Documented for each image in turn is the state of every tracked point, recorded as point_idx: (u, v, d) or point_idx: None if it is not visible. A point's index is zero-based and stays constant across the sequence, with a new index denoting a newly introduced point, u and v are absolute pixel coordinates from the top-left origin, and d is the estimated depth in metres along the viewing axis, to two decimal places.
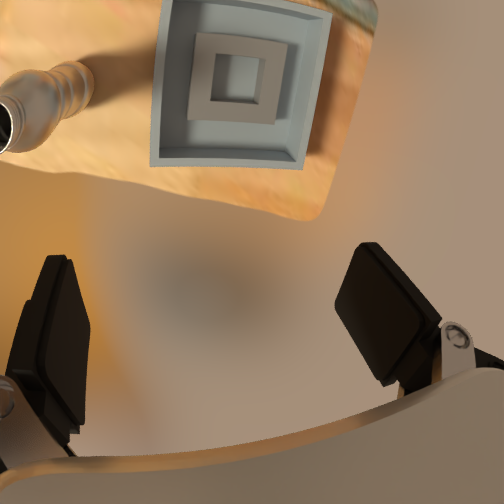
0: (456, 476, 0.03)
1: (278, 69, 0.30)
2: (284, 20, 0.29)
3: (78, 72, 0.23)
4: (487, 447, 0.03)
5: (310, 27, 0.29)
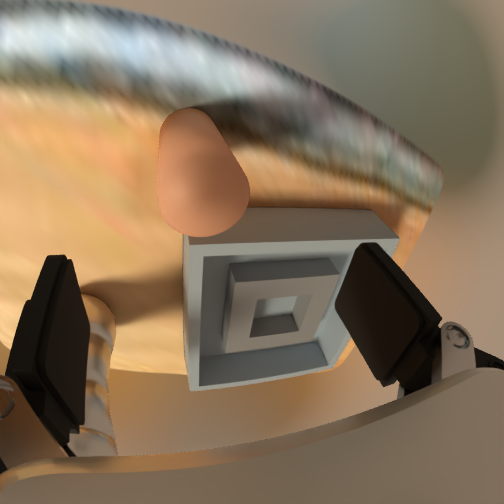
0: (456, 476, 0.03)
1: (324, 299, 0.30)
2: None
3: (98, 337, 0.23)
4: (487, 447, 0.03)
5: None
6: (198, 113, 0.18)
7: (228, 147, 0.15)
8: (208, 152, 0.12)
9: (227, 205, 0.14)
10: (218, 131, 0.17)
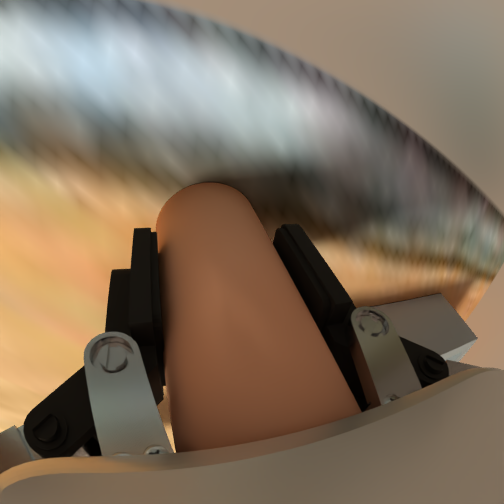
0: (456, 476, 0.03)
1: None
2: None
3: None
4: (487, 447, 0.03)
5: None
6: (230, 203, 0.10)
7: (324, 341, 0.07)
8: None
9: None
10: (280, 260, 0.09)
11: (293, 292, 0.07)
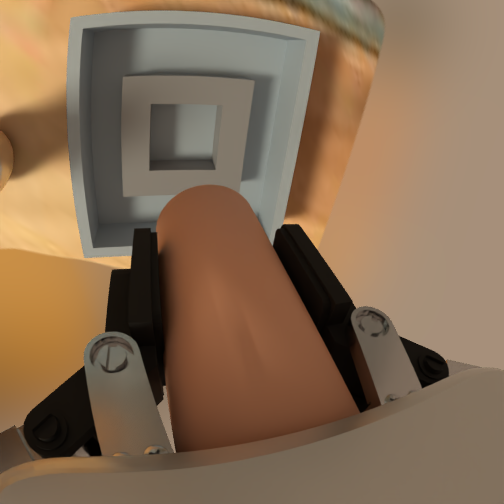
0: (456, 476, 0.03)
1: (241, 118, 0.23)
2: (252, 42, 0.21)
3: None
4: (487, 447, 0.03)
5: (289, 51, 0.22)
6: (230, 205, 0.10)
7: (324, 344, 0.07)
8: None
9: None
10: (280, 263, 0.09)
11: (293, 295, 0.07)
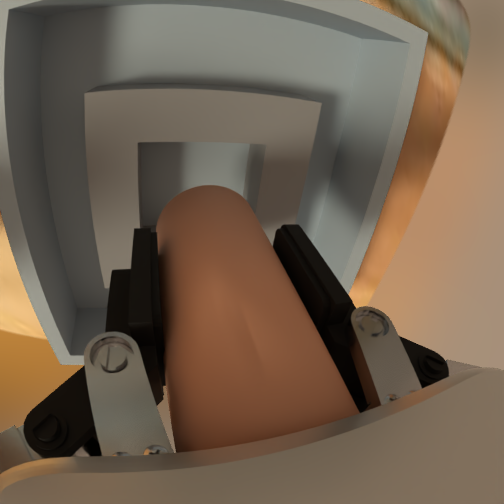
0: (456, 476, 0.03)
1: (296, 167, 0.14)
2: (310, 37, 0.13)
3: None
4: (487, 447, 0.03)
5: (368, 57, 0.13)
6: (230, 206, 0.10)
7: (323, 345, 0.07)
8: None
9: None
10: (280, 263, 0.09)
11: (293, 296, 0.07)
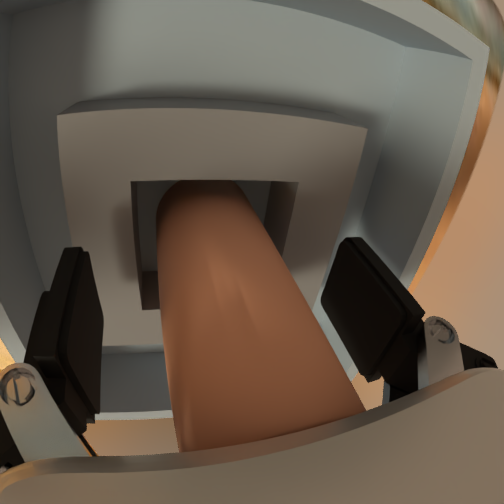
0: (456, 476, 0.03)
1: (332, 208, 0.11)
2: (348, 41, 0.10)
3: None
4: (487, 447, 0.03)
5: (415, 70, 0.10)
6: (225, 191, 0.11)
7: (310, 309, 0.07)
8: (308, 416, 0.04)
9: None
10: (271, 240, 0.10)
11: (282, 266, 0.08)
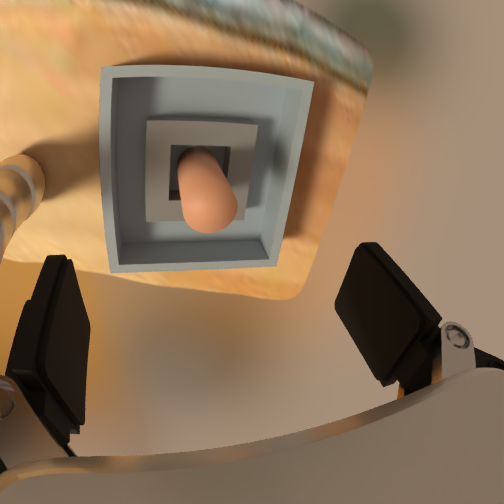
0: (456, 476, 0.03)
1: (247, 157, 0.29)
2: (256, 89, 0.27)
3: (21, 177, 0.21)
4: (487, 447, 0.03)
5: (287, 96, 0.27)
6: (204, 151, 0.28)
7: (225, 177, 0.24)
8: (213, 182, 0.21)
9: (224, 213, 0.23)
10: (218, 165, 0.27)
11: (218, 168, 0.25)
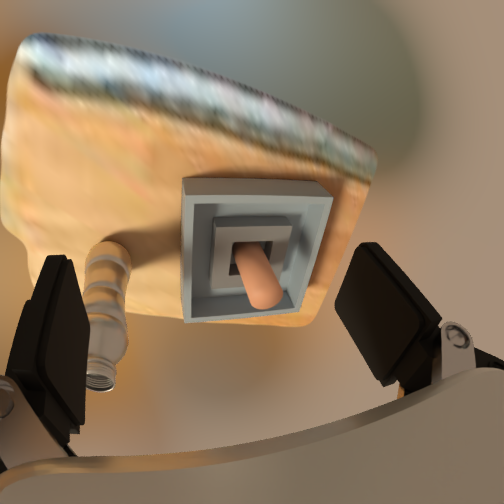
0: (456, 476, 0.03)
1: (283, 246, 0.42)
2: None
3: (120, 266, 0.35)
4: (487, 447, 0.03)
5: None
6: (254, 242, 0.42)
7: (273, 271, 0.38)
8: (269, 283, 0.35)
9: (274, 298, 0.37)
10: (265, 256, 0.40)
11: (267, 262, 0.39)
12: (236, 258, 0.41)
